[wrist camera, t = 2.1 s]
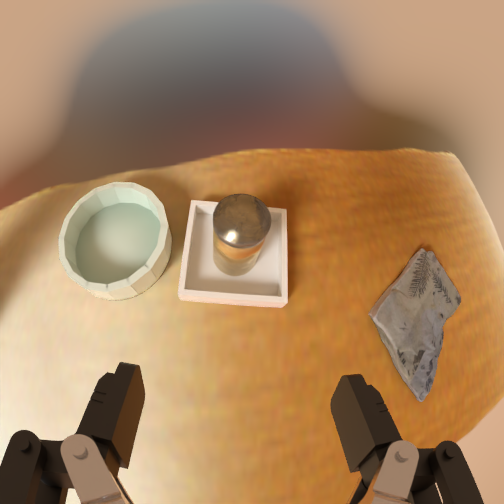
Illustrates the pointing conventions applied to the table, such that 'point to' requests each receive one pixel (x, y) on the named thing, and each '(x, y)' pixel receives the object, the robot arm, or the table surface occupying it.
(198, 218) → the parts tray
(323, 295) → the table surface
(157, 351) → the table surface
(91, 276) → the bowl
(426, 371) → the fossil rock
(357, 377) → the robot arm
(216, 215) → the glass jar with lid
